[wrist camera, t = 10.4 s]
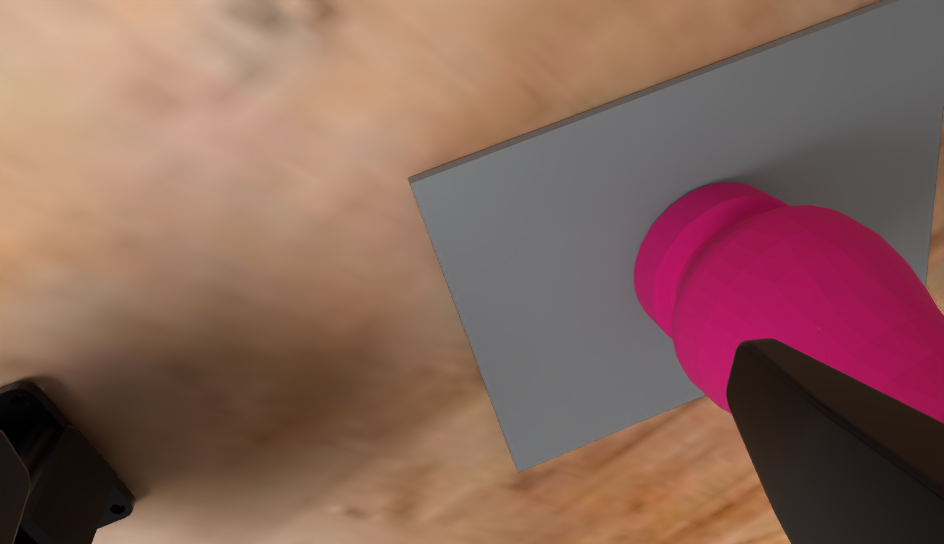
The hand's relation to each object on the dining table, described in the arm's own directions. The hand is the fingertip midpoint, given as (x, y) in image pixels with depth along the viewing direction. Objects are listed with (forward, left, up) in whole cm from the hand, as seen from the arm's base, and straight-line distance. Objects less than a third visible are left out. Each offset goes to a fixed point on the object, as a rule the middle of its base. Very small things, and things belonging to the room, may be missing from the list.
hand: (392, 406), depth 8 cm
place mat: (+12, -9, -13) cm, 20 cm away
